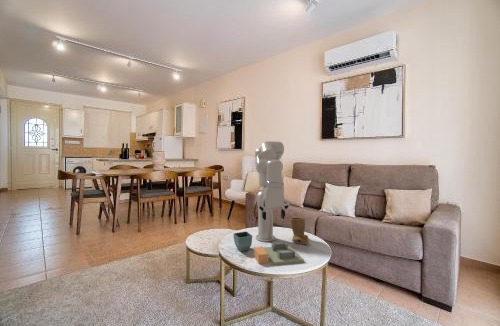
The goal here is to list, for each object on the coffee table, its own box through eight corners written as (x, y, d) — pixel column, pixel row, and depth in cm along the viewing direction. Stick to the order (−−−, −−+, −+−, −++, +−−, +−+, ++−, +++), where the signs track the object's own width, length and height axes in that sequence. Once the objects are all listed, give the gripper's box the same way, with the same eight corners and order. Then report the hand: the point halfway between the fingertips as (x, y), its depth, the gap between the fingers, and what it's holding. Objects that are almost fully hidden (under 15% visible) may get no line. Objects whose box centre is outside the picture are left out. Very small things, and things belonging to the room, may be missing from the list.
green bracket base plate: (263, 249, 146) (263, 242, 146) (289, 247, 150) (289, 240, 150) (274, 265, 127) (274, 256, 127) (303, 262, 130) (303, 253, 130)
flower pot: (238, 253, 141) (238, 237, 141) (232, 248, 149) (233, 233, 149) (252, 251, 145) (252, 235, 144) (246, 245, 153) (246, 231, 152)
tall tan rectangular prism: (253, 256, 138) (254, 247, 138) (262, 255, 139) (262, 246, 139) (258, 264, 128) (258, 254, 128) (267, 263, 129) (268, 253, 129)
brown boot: (290, 236, 171) (291, 214, 170) (308, 237, 167) (309, 215, 167) (287, 244, 156) (288, 220, 155) (307, 246, 153) (307, 221, 152)
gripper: (287, 183, 132) (286, 216, 133) (255, 184, 128) (255, 217, 128) (292, 185, 124) (292, 219, 125) (259, 186, 120) (259, 221, 121)
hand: (273, 218), depth 127 cm, fingers open, 9 cm apart
